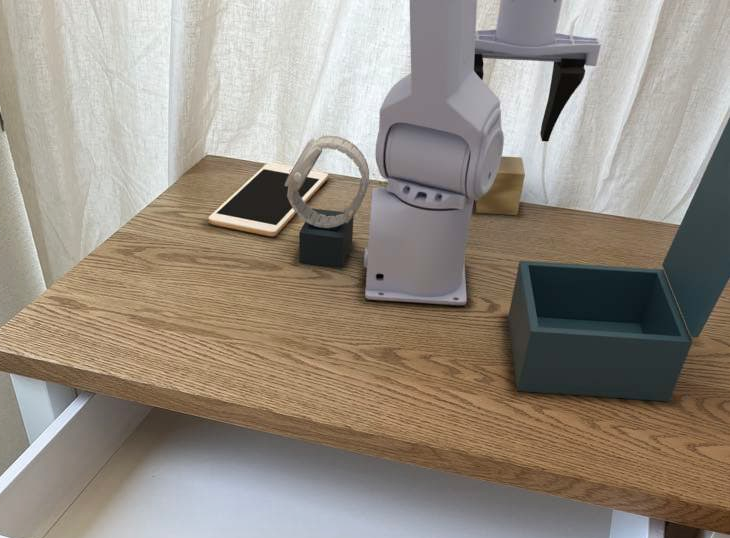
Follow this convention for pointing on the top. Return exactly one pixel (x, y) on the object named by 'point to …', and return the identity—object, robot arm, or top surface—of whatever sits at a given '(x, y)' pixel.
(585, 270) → the chest
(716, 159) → the lid
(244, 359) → the top surface
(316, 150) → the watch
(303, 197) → the cell phone
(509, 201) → the block
